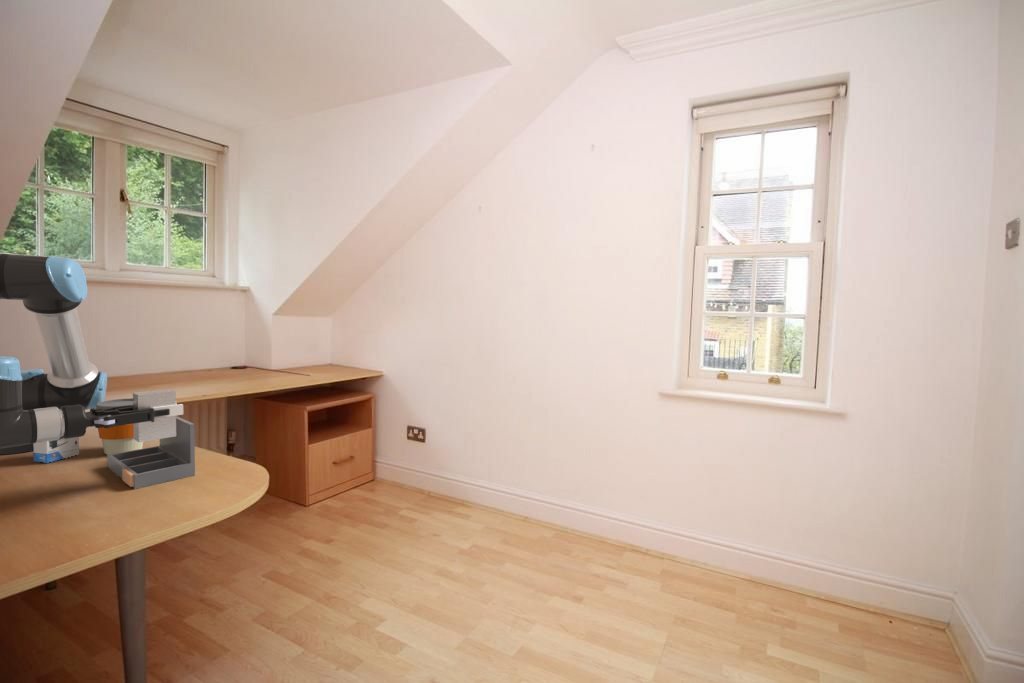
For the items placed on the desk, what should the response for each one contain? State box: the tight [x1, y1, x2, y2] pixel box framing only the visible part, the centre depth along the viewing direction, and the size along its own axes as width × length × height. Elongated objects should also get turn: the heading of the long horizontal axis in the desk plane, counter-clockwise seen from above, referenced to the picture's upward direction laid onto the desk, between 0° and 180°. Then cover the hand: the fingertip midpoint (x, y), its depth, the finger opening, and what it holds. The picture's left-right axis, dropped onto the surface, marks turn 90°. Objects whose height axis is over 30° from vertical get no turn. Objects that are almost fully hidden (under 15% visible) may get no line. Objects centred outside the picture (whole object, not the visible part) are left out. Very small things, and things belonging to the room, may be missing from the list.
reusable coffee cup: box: [96, 397, 144, 456], centre depth 144 cm, size 13×13×15 cm
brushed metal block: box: [132, 388, 177, 443], centre depth 123 cm, size 4×8×12 cm, turn 143°
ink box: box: [33, 436, 80, 464], centre depth 136 cm, size 8×5×12 cm, turn 168°
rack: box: [106, 415, 196, 490], centre depth 129 cm, size 23×14×14 cm, turn 53°
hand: (179, 407), depth 127 cm, fingers closed on brushed metal block, 4 cm apart
